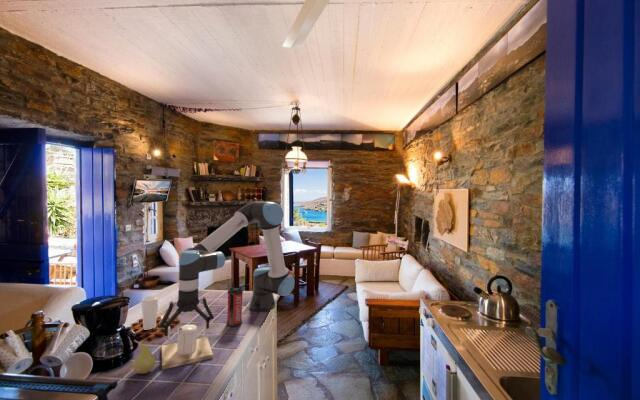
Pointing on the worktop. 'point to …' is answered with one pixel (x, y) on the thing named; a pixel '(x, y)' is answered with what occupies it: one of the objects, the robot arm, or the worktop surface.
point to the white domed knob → (187, 339)
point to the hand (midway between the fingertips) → (187, 339)
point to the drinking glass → (149, 312)
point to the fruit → (144, 360)
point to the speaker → (234, 306)
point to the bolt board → (174, 359)
